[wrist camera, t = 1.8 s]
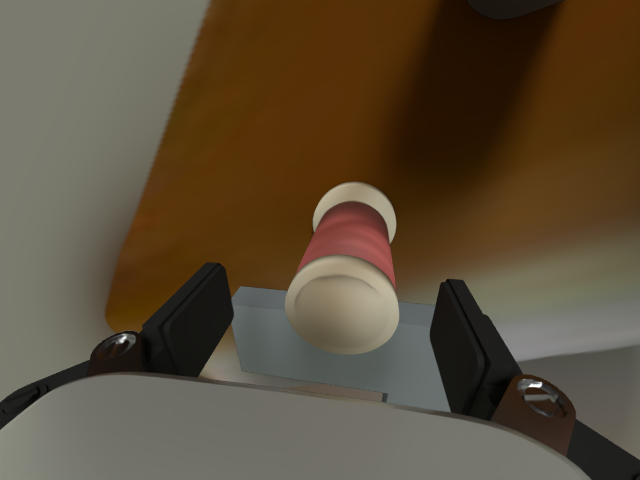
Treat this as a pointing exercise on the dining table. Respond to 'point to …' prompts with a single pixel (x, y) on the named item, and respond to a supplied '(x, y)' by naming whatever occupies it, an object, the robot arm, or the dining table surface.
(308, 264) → the bobbin
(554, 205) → the dining table surface
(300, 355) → the notched board
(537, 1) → the coffee cup
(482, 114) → the dining table surface
